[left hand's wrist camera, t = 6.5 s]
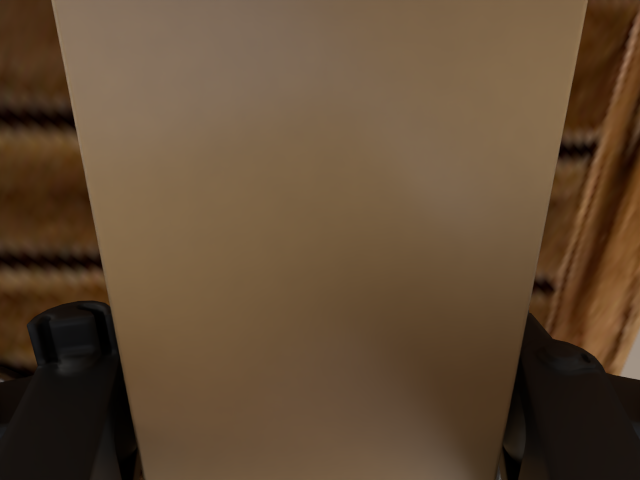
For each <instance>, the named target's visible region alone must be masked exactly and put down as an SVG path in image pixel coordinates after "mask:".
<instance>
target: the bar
mask: <svg viewBox="0 0 640 480" xmlns="http://www.w3.org/2000/svg"><path fill="white" fill-rule="evenodd" d="M51 1H52V6H53V11H54V16H55V21H56V26H57V32H58V37H59V42H60V47H61V52H62V58H63V63H64V68H65V73H66V78H67V84H68V89H69V94H70V99H71V104H72V110H73V115H74V120H75V125H76V130H77V136H78V141H79V146H80V151H81V156H82V161H83V167H84V172H85V177H86V182H87V187H88V193H89V198H90V203H91V208H92V213H93V219H94V224H95V229H96V234H97V239H98V245H99V250H100V255H101V260H102V265H103V271H104V276H105V281H106V286H107V291H108V296H109V302H110V307H111V312H112V317H113V322H114V328H115V333H116V338H117V343H118V348H119V354H120V359H121V364H122V369H123V374H124V380H125V385H126V390H127V395H128V400H129V406H130V411H131V416H132V421H133V426H134V431H135V437H136V442H137V447H138V452H139V457H140V463H141V468H142V473H143V478H144V480H496V476H497V470H498V465H499V460H500V455H501V450H502V444H503V439H504V434H505V429H506V424H507V418H508V413H509V408H510V403H511V398H512V392H513V387H514V382H515V377H516V372H517V366H518V361H519V356H520V351H521V346H522V340H523V335H524V330H525V325H526V320H527V314H528V309H529V304H530V299H531V294H532V288H533V283H534V278H535V273H536V268H537V262H538V257H539V252H540V247H541V242H542V236H543V231H544V226H545V221H546V216H547V210H548V205H549V200H550V195H551V190H552V184H553V179H554V174H555V169H556V164H557V158H558V153H559V148H560V143H561V138H562V132H563V127H564V122H565V117H566V112H567V106H568V101H569V96H570V91H571V86H572V80H573V75H574V70H575V65H576V60H577V54H578V49H579V44H580V39H581V34H582V28H583V23H584V18H585V13H586V8H587V2H588V0H51Z"/></svg>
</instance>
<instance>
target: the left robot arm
mask: <svg viewBox="0 0 640 480" xmlns="http://www.w3.org/2000/svg"><path fill="white" fill-rule="evenodd" d="M27 328H28V331H29V335H30V339H31V342H32V346H33V350H34V353H35V357H36V361H37V364H38V367H37V369H36V371H35V373H34V375H32V376H28V377H25V376H23V375H21V374H19V373H17V372H14V371H12V370H10V369H7V368H5V367H2V366H0V480H139V478H140V470H141V463H140V457H139V452H138V447H137V442H136V437H135V431H134V426H133V421H132V416H131V411H130V406H129V400H128V395H127V390H126V385H125V380H124V374H123V369H122V364H121V359H120V354H119V348H118V343H117V338H116V333H115V328H114V322H113V317H112V312H111V307H110V306H108V305H107V304H106V303H103V302H98V301H77V302H72V303H67V304H62V305H59V306H57V307H54V308H51V309H48V310H46V311H44V312H43V313H41V314H39V315H37V316H35V317H34V318H33V319H32V320H31V321H30V322H29V323H28V324H27ZM496 480H640V380H637V379H631V378H626V377H621V376H616V375H612V374H608V373H606V372H605V370H604V368H603V366H602V365H601V364H600V362H599V361H598V360H597V359H596V358H595V356H593V355H592V354H590V353H589V352H587V351H586V350H584V349H582V348H580V347H578V346H575V345H573V344H570V343H568V342H564V341H559V340H555V339H552V337H551V336H550V335H549V334H548V333H547V331H546V330H545V329H544V328H543V327H542V326H541V324H540V323H539V322H538V321H537V320H536V318H535V317H534V316H533V315H532V314H531V313H529V310H528V314H527V320H526V325H525V330H524V335H523V340H522V346H521V351H520V356H519V361H518V366H517V372H516V377H515V382H514V387H513V392H512V398H511V403H510V408H509V413H508V418H507V424H506V429H505V434H504V439H503V444H502V450H501V455H500V460H499V465H498V470H497V476H496Z"/></svg>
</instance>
